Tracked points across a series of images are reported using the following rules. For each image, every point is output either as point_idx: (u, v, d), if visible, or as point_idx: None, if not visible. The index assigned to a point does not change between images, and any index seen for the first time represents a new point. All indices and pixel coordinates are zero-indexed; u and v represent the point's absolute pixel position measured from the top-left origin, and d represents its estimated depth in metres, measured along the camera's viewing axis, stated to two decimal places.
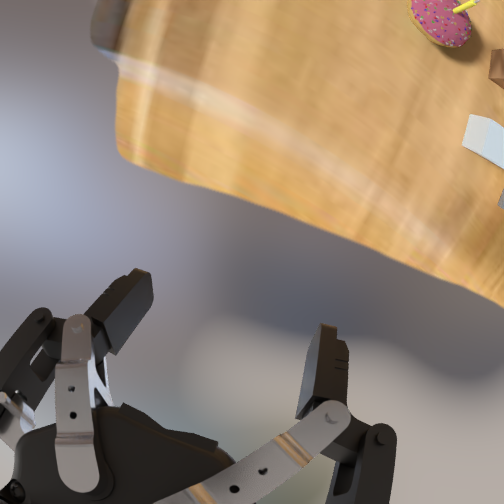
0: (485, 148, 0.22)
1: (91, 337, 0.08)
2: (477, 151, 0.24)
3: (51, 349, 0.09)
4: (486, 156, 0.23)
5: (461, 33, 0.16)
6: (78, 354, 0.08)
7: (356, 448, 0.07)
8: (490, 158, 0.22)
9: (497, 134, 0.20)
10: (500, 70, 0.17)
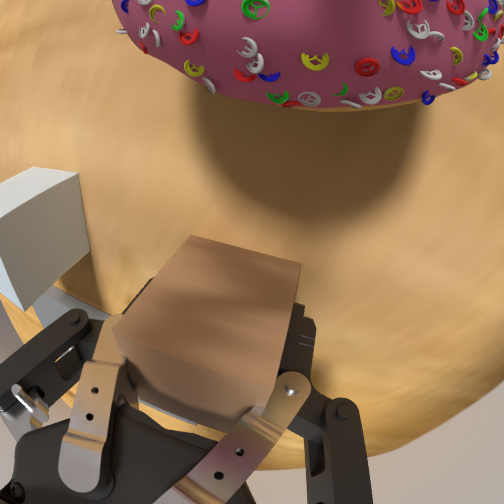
0: None
1: None
2: None
3: (81, 352, 0.09)
4: None
5: None
6: (112, 356, 0.08)
7: (317, 421, 0.08)
8: None
9: None
10: (185, 288, 0.09)
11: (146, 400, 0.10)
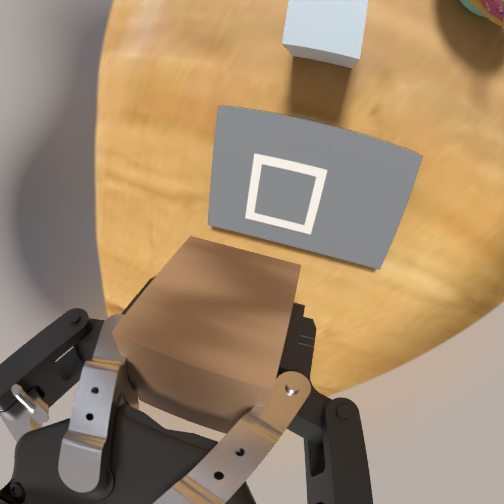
0: None
1: None
2: None
3: (81, 352, 0.09)
4: None
5: None
6: (112, 356, 0.08)
7: (317, 421, 0.08)
8: (292, 2, 0.12)
9: (345, 12, 0.12)
10: (185, 289, 0.09)
11: (146, 401, 0.10)
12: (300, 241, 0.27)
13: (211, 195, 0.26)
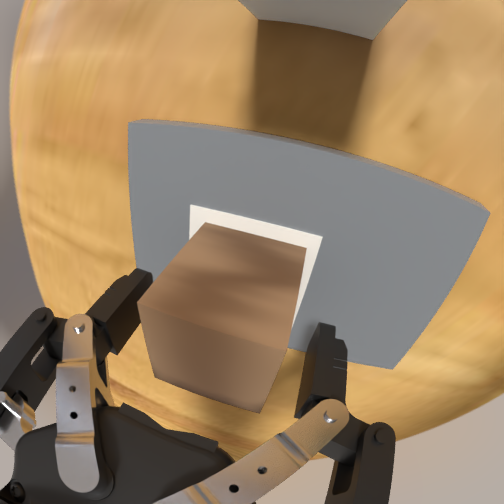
0: None
1: (93, 337, 0.08)
2: None
3: (52, 349, 0.09)
4: None
5: None
6: (79, 354, 0.08)
7: (355, 447, 0.07)
8: None
9: None
10: (203, 266, 0.11)
11: (161, 377, 0.11)
12: None
13: (138, 264, 0.16)
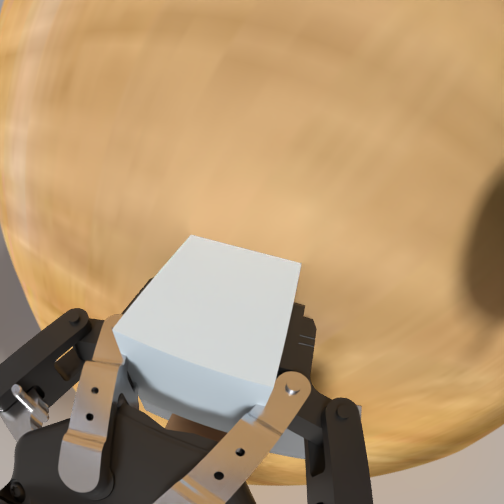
0: (144, 352, 0.08)
1: None
2: (135, 308, 0.08)
3: (81, 352, 0.09)
4: (122, 349, 0.08)
5: None
6: (112, 356, 0.08)
7: (317, 421, 0.08)
8: (128, 361, 0.08)
9: (223, 399, 0.08)
10: None
11: None
12: None
13: None
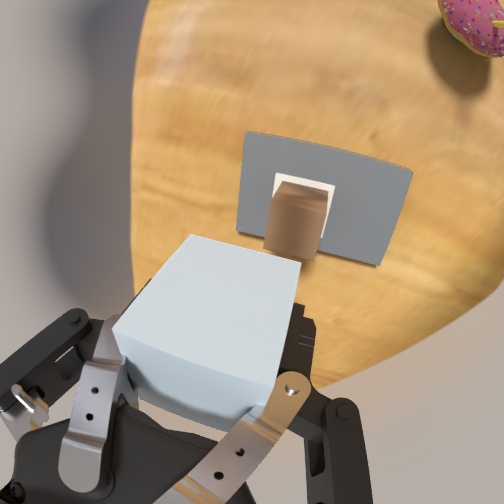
0: (144, 351, 0.08)
1: None
2: (134, 307, 0.08)
3: (81, 352, 0.09)
4: (122, 348, 0.08)
5: (469, 22, 0.10)
6: (112, 356, 0.08)
7: (317, 421, 0.08)
8: (128, 361, 0.08)
9: (223, 399, 0.08)
10: (289, 193, 0.26)
11: (267, 247, 0.27)
12: None
13: (239, 206, 0.32)
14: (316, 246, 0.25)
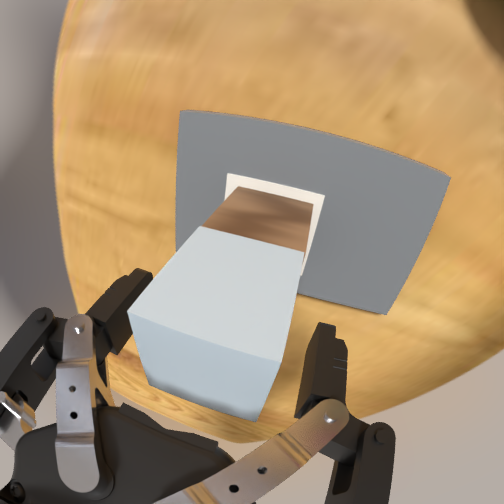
0: (158, 332, 0.08)
1: (93, 337, 0.08)
2: (148, 292, 0.09)
3: (52, 349, 0.09)
4: (136, 331, 0.09)
5: None
6: (79, 354, 0.08)
7: (355, 447, 0.07)
8: (141, 344, 0.09)
9: (232, 379, 0.09)
10: (243, 209, 0.15)
11: None
12: None
13: (177, 225, 0.21)
14: None
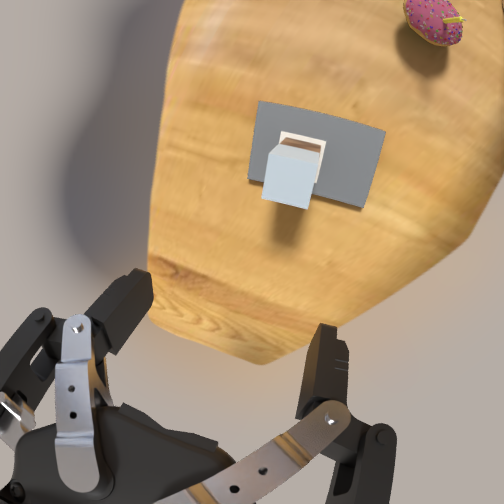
0: (279, 160, 0.27)
1: (91, 337, 0.08)
2: (272, 151, 0.27)
3: (51, 349, 0.09)
4: (269, 162, 0.27)
5: (424, 21, 0.18)
6: (78, 354, 0.08)
7: (356, 448, 0.07)
8: (268, 169, 0.27)
9: (301, 177, 0.27)
10: (292, 142, 0.33)
11: None
12: None
13: (251, 158, 0.39)
14: None
